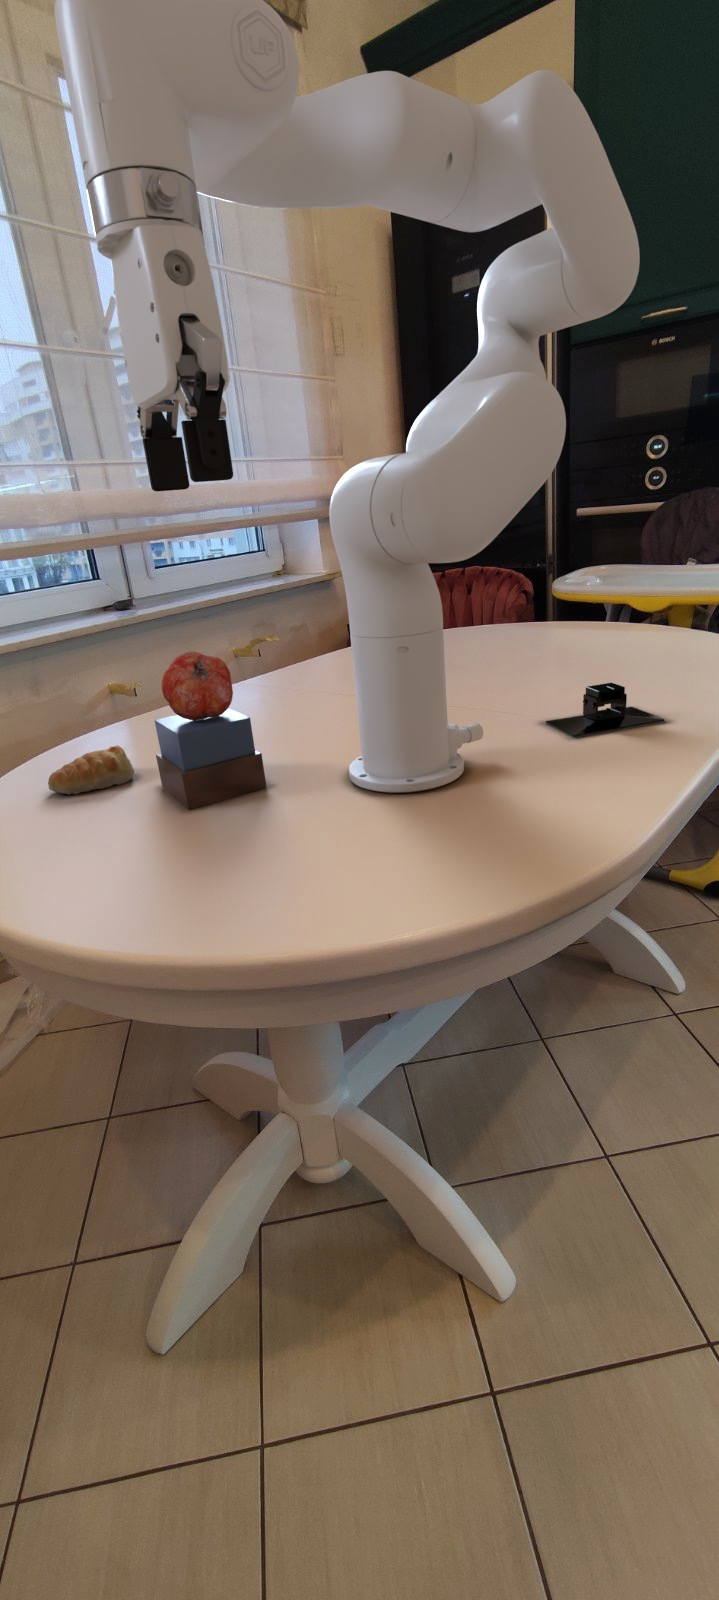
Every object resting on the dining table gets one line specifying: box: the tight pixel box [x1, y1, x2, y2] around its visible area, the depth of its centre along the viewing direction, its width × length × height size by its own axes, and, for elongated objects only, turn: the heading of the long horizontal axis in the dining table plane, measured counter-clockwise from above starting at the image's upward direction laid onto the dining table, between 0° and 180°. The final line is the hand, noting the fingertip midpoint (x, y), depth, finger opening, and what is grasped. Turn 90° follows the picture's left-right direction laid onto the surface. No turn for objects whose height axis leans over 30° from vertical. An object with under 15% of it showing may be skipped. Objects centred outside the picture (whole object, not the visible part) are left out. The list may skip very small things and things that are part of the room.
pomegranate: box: [160, 651, 234, 721], centre depth 77 cm, size 7×7×10 cm
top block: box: [154, 707, 256, 771], centre depth 79 cm, size 8×8×4 cm
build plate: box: [545, 682, 666, 739], centre depth 89 cm, size 12×7×5 cm, turn 105°
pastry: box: [47, 745, 135, 796], centre depth 85 cm, size 9×7×4 cm
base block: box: [155, 749, 267, 810], centre depth 80 cm, size 9×9×4 cm
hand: (190, 485), depth 58 cm, fingers open, 9 cm apart
